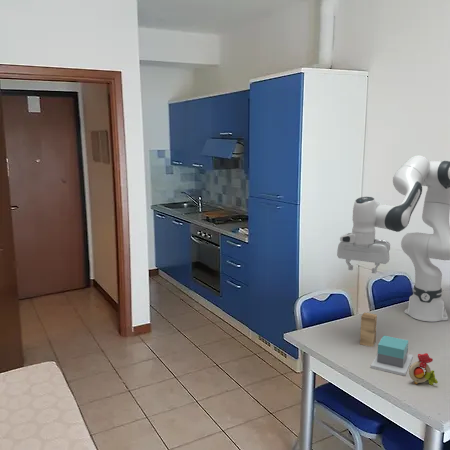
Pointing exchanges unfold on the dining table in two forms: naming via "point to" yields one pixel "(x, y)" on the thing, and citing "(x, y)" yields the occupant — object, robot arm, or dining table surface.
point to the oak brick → (368, 329)
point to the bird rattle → (418, 372)
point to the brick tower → (392, 356)
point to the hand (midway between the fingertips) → (362, 271)
